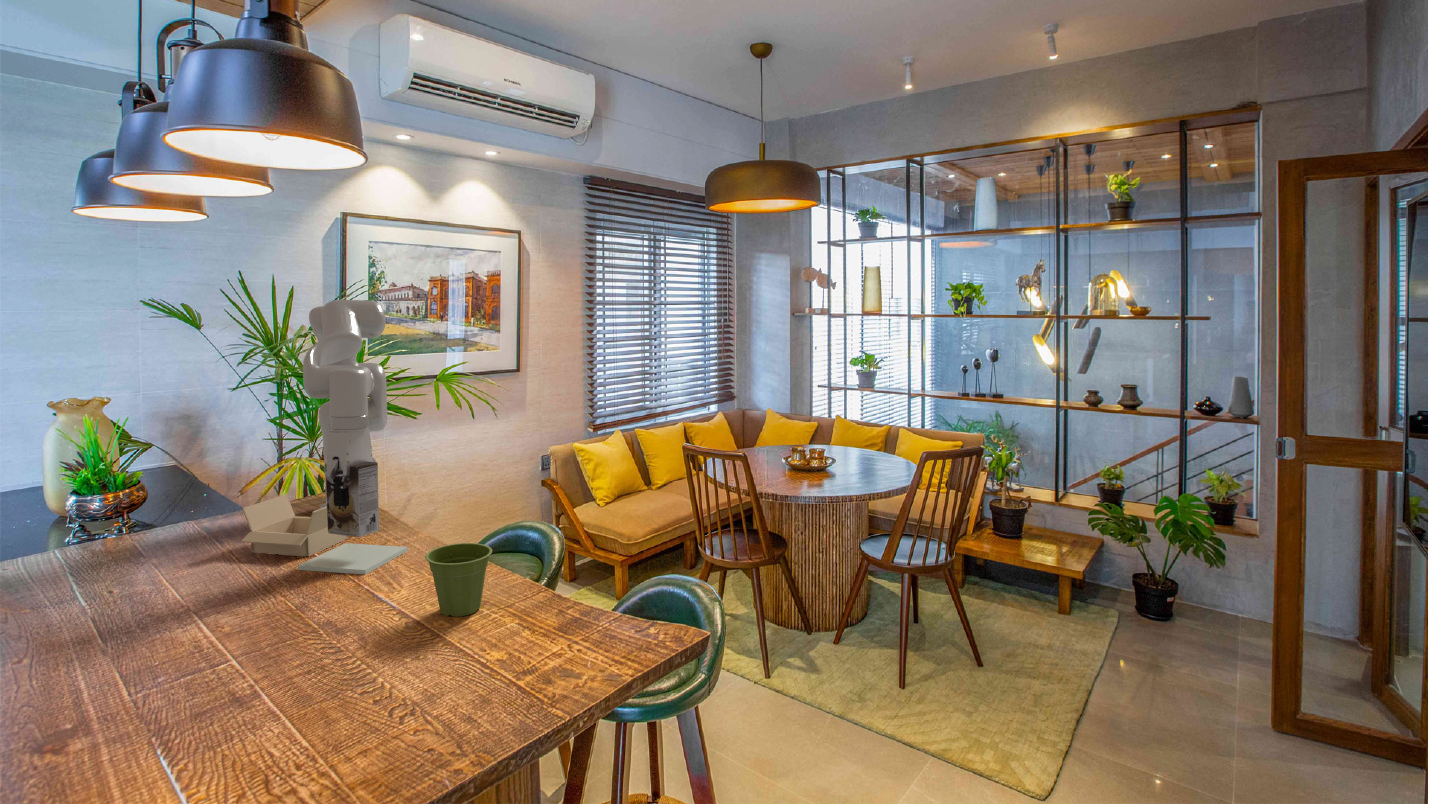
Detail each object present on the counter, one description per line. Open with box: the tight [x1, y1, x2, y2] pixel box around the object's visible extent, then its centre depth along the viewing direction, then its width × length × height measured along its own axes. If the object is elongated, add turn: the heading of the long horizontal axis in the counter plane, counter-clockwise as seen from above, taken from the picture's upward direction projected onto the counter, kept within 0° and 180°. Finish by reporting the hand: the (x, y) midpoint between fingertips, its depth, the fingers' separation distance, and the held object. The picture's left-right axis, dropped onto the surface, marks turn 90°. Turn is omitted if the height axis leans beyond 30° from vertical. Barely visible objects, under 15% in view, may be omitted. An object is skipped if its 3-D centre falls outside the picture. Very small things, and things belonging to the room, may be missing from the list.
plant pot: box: [424, 542, 493, 618], centre depth 131 cm, size 12×12×11 cm
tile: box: [297, 542, 409, 576], centre depth 158 cm, size 16×16×1 cm
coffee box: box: [324, 461, 380, 538], centre depth 157 cm, size 9×6×16 cm
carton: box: [241, 493, 348, 557], centre depth 167 cm, size 19×18×11 cm
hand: (352, 500), depth 157 cm, fingers closed on coffee box, 7 cm apart
